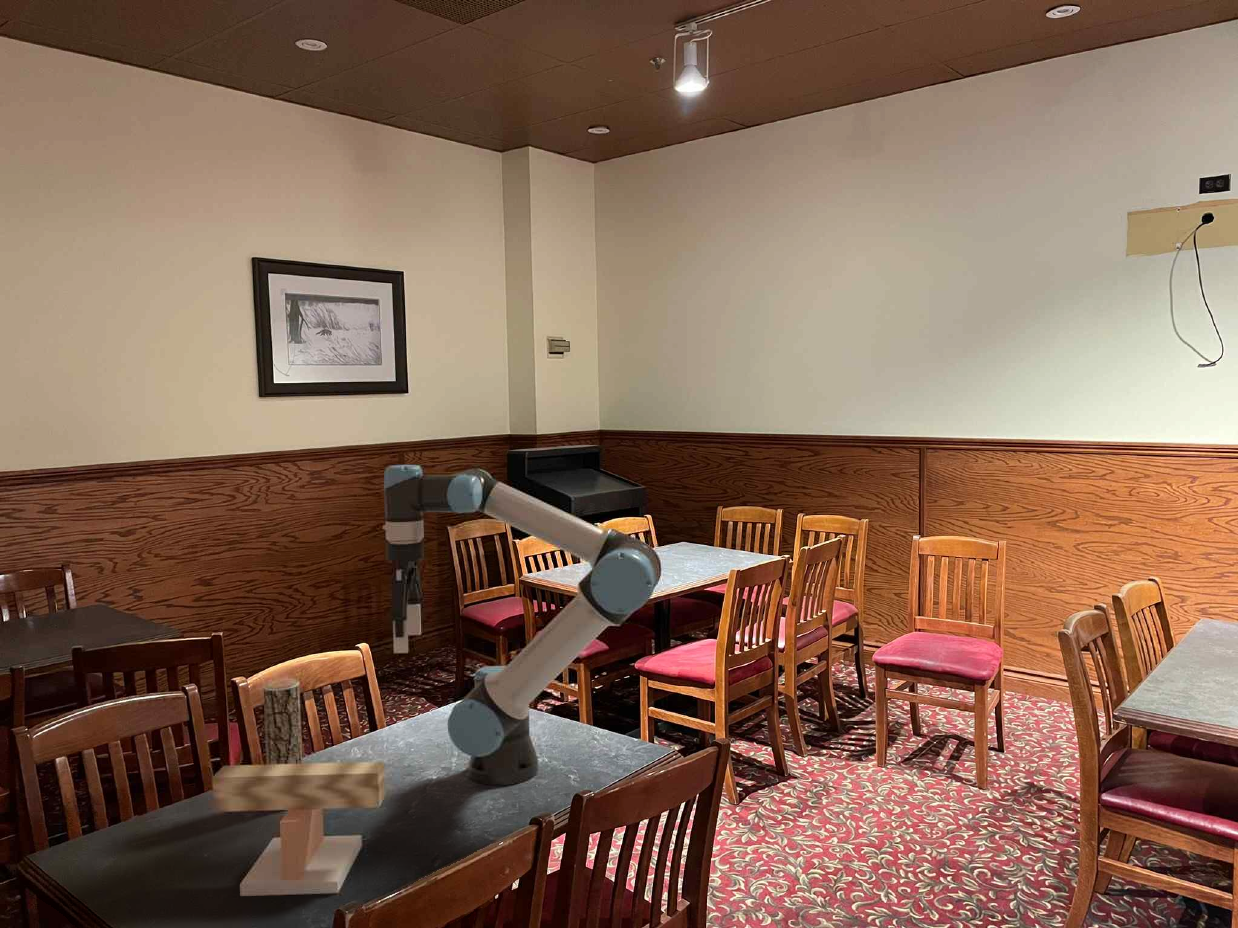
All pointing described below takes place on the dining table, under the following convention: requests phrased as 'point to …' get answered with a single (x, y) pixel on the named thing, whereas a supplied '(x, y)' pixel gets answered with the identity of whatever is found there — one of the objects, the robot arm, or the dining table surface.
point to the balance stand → (302, 858)
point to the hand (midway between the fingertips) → (407, 643)
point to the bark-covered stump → (282, 721)
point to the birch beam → (299, 786)
